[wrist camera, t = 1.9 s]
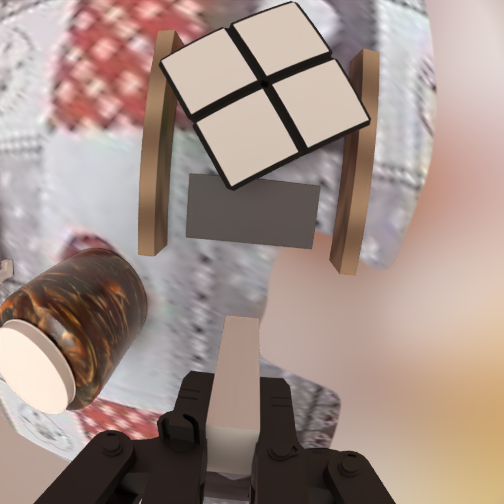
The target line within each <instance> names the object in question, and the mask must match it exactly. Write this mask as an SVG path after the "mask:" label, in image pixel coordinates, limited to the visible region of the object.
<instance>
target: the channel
mask: <svg viewBox="0 0 504 504" xmlns="http://www.w3.org/2000/svg"><path fill="white" fill-rule="evenodd" d="M183 46H185V45H184V43H183V42H182V40H181V39H180V37H179V36H178V34H177V32H176V31H175V30H166V31H158V35H157V40H156V45H155V51H154V56H153V62H152V68H151V74H150V81H149V87H148V95H147V102H146V110H145V119H144V129H143V139H142V151H141V165H140V183H139V212H138V255H145V256H155V255H156V254H157V253H158V252H160V251H161V250H162V249H163V248H164V247H165V246H166V245H167V222H168V199H169V181H170V166H171V153H172V142H173V131H174V121H175V112H176V104H177V98H176V96H175V94H174V92H173V90H172V89H171V87H170V85H169V83H168V81H167V80H166V78H165V76H164V74H163V72H162V71H161V69H160V67H159V62H160V60H161V59H162V58H164V57H165V56H167V55H169V54H171V53H172V52H174V51H176V50H178V49H179V48H181V47H183ZM350 81H351V83H352V84H353V86H354V88H355V90H356V91H357V93H358V95H359V97H360V99H361V100H362V102H363V104H364V106H365V108H366V110H367V112H368V113H369V115H370V117H371V122H370V125H369V126H367V127H365V128H362V129H360V130H358V131H356V132H353V133H351V134H349V135H347V136H346V137H345V148H344V157H343V167H342V175H341V184H340V192H339V199H338V207H337V214H336V221H335V228H334V234H333V240H332V247H331V253H330V259H329V260H330V261H331V263H332V264H333V266H334V267H335V268H336V270H337V271H338V272H339V274H346V275H355V274H356V270H357V265H358V260H359V255H360V250H361V244H362V239H363V233H364V227H365V221H366V215H367V208H368V201H369V194H370V186H371V179H372V170H373V161H374V151H375V140H376V128H377V114H378V94H379V52H375V51H372V50H368V49H364V48H363V49H362V50H361V51H360V52H359V53H358V54H357V55H356V56H355V57H354V58H353V59H352V60H351V61H350Z"/></svg>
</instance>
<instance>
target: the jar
mask: <svg viewBox="0 0 504 504" xmlns="http://www.w3.org/2000/svg"><path fill="white" fill-rule="evenodd" d="M146 311H147V301H146V295H145V291H144V288H143V285H142V283H141V281H140V279H139V277H138V275H137V274H136V272H135V271H134V270H133V268H132V267H131V266H130V265H129V264H128V263H127V262H126V261H125V260H124V259H123V258H121V257H120V256H118V255H117V254H115V253H113V252H111V251H108V250H105V249H100V248H90V249H86V250H82V251H80V252H78V253H76V254H74V255H73V256H71V257H69V258H67V259H65V260H64V261H62V262H60V263H59V264H57V265H55V266H53V267H52V268H50V269H48V270H47V271H45V272H44V273H42V274H40V275H39V276H37V277H36V278H34V279H33V280H31V281H30V282H28V283H27V284H25V285H24V286H22V287H21V288H19V289H18V290H17V291H15V292H14V293H13V294H12V295H10V296H9V297H8V298H7V299H6V300H5V301H4V303H3V304H2V306H1V308H0V372H1V374H2V376H3V377H4V379H5V380H6V382H7V383H8V385H9V386H10V387H11V388H12V390H13V391H14V392H15V393H16V394H17V395H18V396H19V397H20V398H21V399H23V400H24V401H25V402H26V403H27V404H29V405H30V406H32V407H33V408H35V409H37V410H39V411H41V412H44V413H47V414H60V413H62V412H64V411H65V409H66V410H78V409H82V408H84V407H86V406H88V405H89V404H91V403H92V402H93V401H94V399H95V398H96V397H97V396H98V395H99V393H100V392H101V390H102V389H103V387H104V386H105V384H106V383H107V381H108V380H109V378H110V377H111V375H112V374H113V372H114V370H115V369H116V367H117V366H118V364H119V363H120V361H121V359H122V358H123V356H124V355H125V353H126V352H127V350H128V348H129V347H130V345H131V344H132V342H133V341H134V339H135V337H136V336H137V334H138V333H139V331H140V329H141V327H142V326H143V323H144V321H145V317H146Z"/></svg>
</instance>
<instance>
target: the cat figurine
mask: <svg viewBox="0 0 504 504" xmlns="http://www.w3.org/2000/svg"><path fill="white" fill-rule="evenodd" d="M1 267H2V269H0V284H1V283H2V282H3V281H4V280H5V279H6V278H9V277H11V276H13V263H12V260H9V259H5V260H3V261H1Z"/></svg>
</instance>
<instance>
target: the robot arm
mask: <svg viewBox="0 0 504 504" xmlns="http://www.w3.org/2000/svg"><path fill="white" fill-rule="evenodd" d="M157 427H158V432H159V436H158V437H156V438H153V439H146V440H131V439H130V438H129V437H128V436H127V435H126V434H124V433H123V432H119V431H116V430H107V431H103V432H100V433H99V434H97V435H96V436H95V437H94V438H93V439H92V440H91V441H90V442H89V443H88V444H87V445H86V446H85V448H84V449H83V450H82V451H81V452H80V453H79V454H78V455H77V456H76V458H75V459H74V460H73V461H72V462H71V463H70V464H69V465H68V466H67V467H66V469H65V470H64V471H63V472H62V473H61V474H60V475H59V476H58V477H57V479H56V480H55V481H54V482H53V483H52V484H51V485H50V486H49V487H48V488H47V489H46V491H45V492H44V493H43V494H42V495H41V496H40V497H39V498H38V499H37V500H36V502H35V503H34V504H139V502H140V501H141V499H142V501H141V504H203V500H204V492H205V485H206V483H205V477H206V470H207V471H211V472H220V473H230V474H243V475H251V485H250V489H249V494H248V497H249V504H396V503H395V502H394V500H393V499H392V497H391V496H390V494H389V492H388V491H387V489H386V488H385V486H384V485H383V483H382V482H381V480H380V478H379V477H378V475H377V474H376V472H375V471H374V469H373V468H372V466H371V464H370V463H369V461H368V460H367V459H366V458H365V457H364V456H363V455H361V454H359V453H357V452H354V451H341V452H340V451H337V450H332V449H308V450H306V449H304V448H303V447H302V446H301V445H300V443H299V442H298V440H297V437H296V429H295V421H294V414H293V407H292V399H291V391H290V387H289V385H288V384H287V382H286V381H285V380H284V378H267V377H260V367H259V318H250V317H240V316H229V315H226V318H225V323H224V328H223V334H222V339H221V344H220V350H219V355H218V360H217V366H216V371H215V374H213V373H205V372H197V371H190V372H189V373H188V374H187V375H186V376H185V377H184V378H183V381H182V384H181V387H180V390H179V394H178V398H177V400H176V403H175V407H174V410H173V411H170V412H166V413H165V414H163V415H162V416H160V418H159V419H158V421H157Z"/></svg>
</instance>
